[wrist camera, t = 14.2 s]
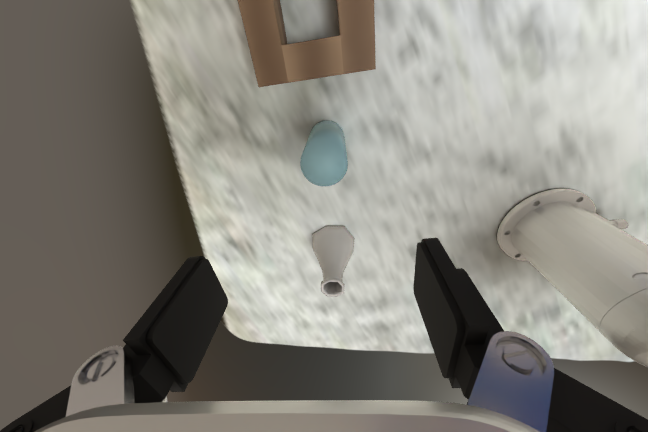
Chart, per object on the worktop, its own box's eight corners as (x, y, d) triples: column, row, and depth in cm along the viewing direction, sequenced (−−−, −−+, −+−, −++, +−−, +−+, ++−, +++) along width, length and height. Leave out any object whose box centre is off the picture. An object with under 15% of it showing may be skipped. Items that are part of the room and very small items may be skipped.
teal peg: (342, 118, 30) (345, 137, 22) (345, 153, 32) (349, 183, 24) (307, 123, 31) (296, 143, 22) (312, 157, 33) (304, 188, 24)
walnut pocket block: (365, -90, 21) (371, -121, 18) (370, 69, 27) (375, 69, 24) (235, -61, 22) (217, -84, 19) (267, 85, 28) (258, 87, 25)
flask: (305, 230, 39) (297, 275, 31) (348, 219, 38) (352, 263, 29) (319, 262, 43) (315, 310, 34) (359, 253, 41) (365, 301, 33)
